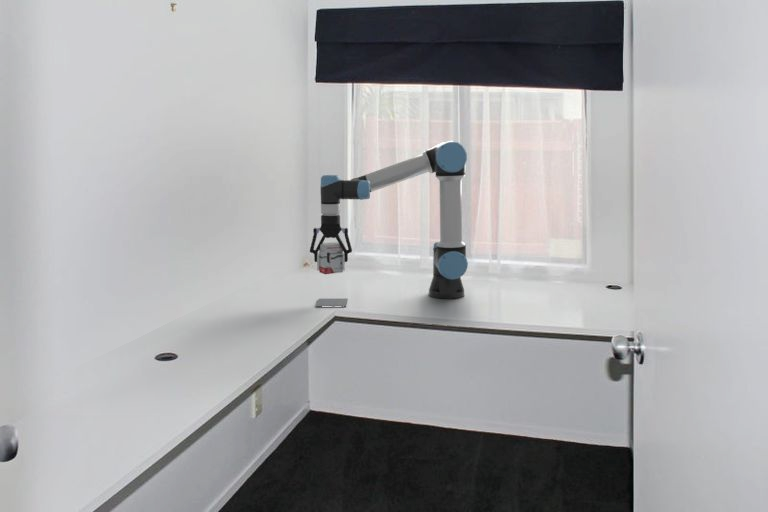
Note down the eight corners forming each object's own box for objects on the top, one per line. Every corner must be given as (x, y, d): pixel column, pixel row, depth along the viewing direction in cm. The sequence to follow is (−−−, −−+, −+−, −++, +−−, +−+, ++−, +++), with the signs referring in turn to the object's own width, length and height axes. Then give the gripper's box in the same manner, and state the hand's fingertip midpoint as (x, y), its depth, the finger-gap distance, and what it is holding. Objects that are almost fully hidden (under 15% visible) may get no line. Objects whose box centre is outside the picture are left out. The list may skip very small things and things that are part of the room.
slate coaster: (347, 299, 255) (347, 298, 255) (346, 307, 243) (346, 305, 243) (318, 300, 255) (318, 298, 255) (315, 307, 243) (315, 306, 243)
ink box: (324, 274, 242) (324, 245, 240) (319, 272, 246) (318, 243, 244) (343, 272, 247) (343, 243, 245) (337, 270, 251) (337, 241, 249)
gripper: (358, 213, 246) (359, 268, 250) (303, 213, 246) (304, 268, 250) (358, 215, 239) (358, 271, 243) (301, 215, 239) (302, 271, 243)
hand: (331, 269), depth 246 cm, fingers closed on ink box, 9 cm apart
